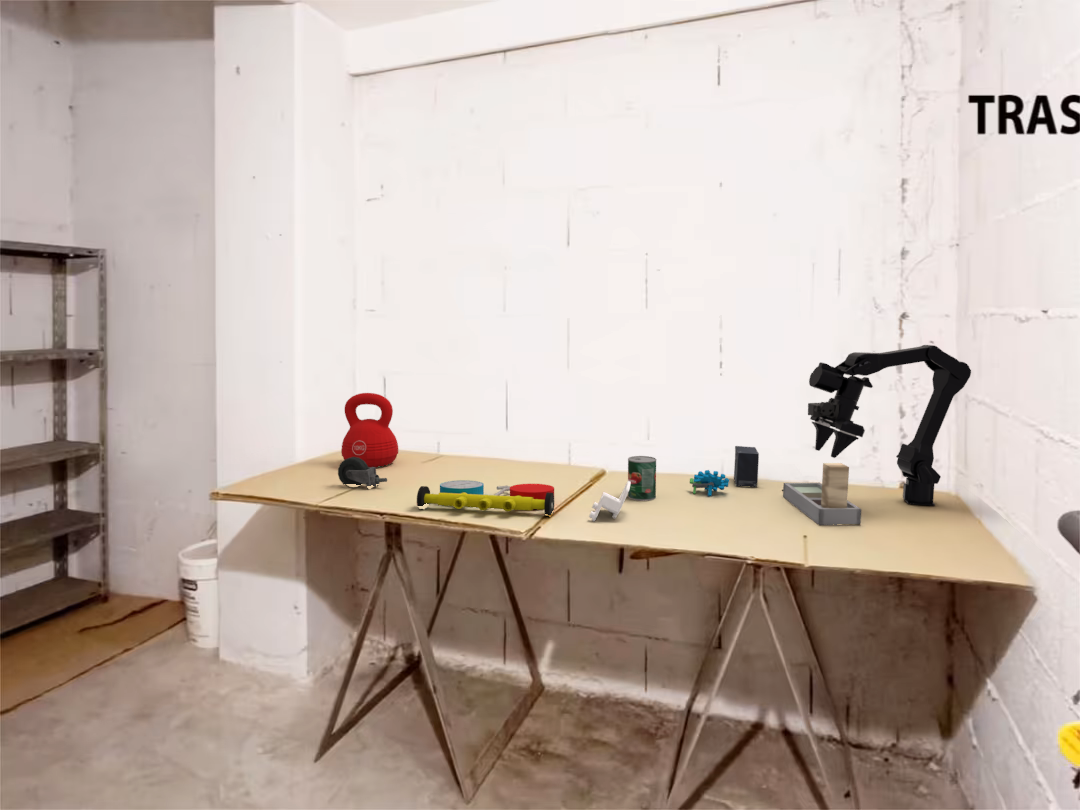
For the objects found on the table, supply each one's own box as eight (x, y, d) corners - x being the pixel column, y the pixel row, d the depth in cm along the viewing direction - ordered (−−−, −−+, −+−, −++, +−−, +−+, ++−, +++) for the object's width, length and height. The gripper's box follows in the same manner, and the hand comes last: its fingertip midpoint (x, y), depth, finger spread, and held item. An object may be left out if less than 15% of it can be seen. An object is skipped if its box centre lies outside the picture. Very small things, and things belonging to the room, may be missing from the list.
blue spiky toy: (733, 486, 198) (724, 467, 192) (731, 504, 195) (723, 485, 188) (695, 487, 203) (686, 468, 197) (693, 504, 200) (683, 486, 193)
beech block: (821, 505, 173) (823, 463, 172) (838, 505, 173) (841, 463, 172) (828, 511, 169) (830, 467, 167) (846, 511, 169) (849, 467, 167)
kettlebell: (332, 470, 230) (328, 395, 227) (355, 458, 248) (352, 389, 245) (386, 471, 227) (384, 396, 223) (406, 459, 245) (404, 390, 242)
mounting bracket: (610, 531, 170) (628, 493, 168) (587, 520, 171) (605, 482, 169) (613, 516, 182) (631, 481, 180) (592, 506, 183) (609, 470, 181)
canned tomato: (661, 496, 194) (662, 458, 193) (645, 502, 188) (645, 463, 187) (638, 491, 200) (638, 454, 198) (621, 497, 194) (622, 459, 192)
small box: (758, 488, 203) (759, 453, 202) (735, 487, 204) (736, 452, 203) (754, 479, 213) (756, 446, 212) (733, 478, 215) (734, 445, 213)
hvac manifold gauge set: (413, 489, 179) (446, 473, 204) (414, 513, 180) (446, 494, 204) (548, 496, 172) (566, 478, 196) (548, 521, 172) (566, 500, 197)
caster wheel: (337, 491, 206) (383, 489, 202) (332, 460, 205) (378, 457, 201) (346, 487, 211) (391, 484, 208) (342, 456, 210) (387, 453, 207)
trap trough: (783, 496, 193) (783, 482, 193) (818, 496, 193) (819, 482, 193) (819, 525, 167) (819, 509, 167) (860, 525, 167) (861, 509, 167)
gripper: (803, 385, 190) (783, 438, 192) (835, 393, 172) (812, 451, 174) (840, 397, 191) (819, 450, 193) (875, 407, 173) (852, 464, 175)
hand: (824, 453), depth 184 cm, fingers open, 9 cm apart
